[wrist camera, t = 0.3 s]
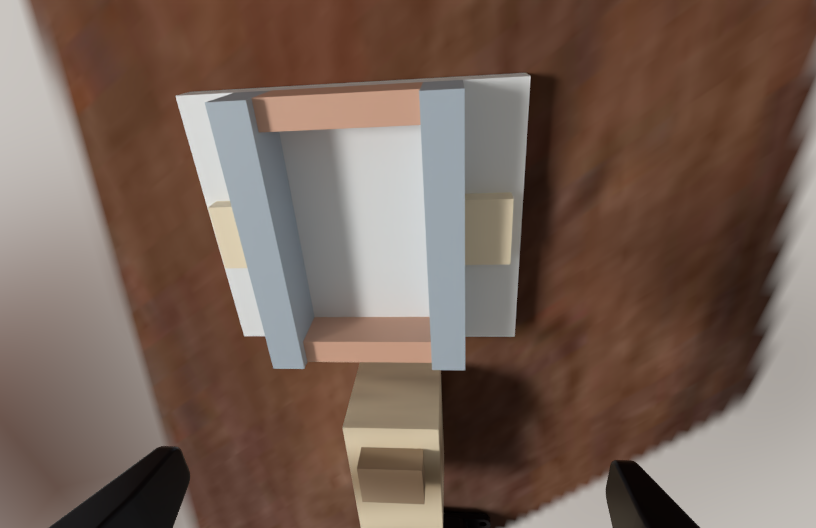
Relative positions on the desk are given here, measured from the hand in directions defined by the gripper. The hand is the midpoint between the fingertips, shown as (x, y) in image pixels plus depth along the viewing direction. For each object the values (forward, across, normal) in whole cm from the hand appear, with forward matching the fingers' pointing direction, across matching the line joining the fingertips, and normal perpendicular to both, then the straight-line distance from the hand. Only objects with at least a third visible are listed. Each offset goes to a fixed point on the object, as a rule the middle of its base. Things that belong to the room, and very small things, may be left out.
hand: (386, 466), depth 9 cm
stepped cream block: (+14, +2, +12) cm, 18 cm away
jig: (+13, +3, 0) cm, 14 cm away
